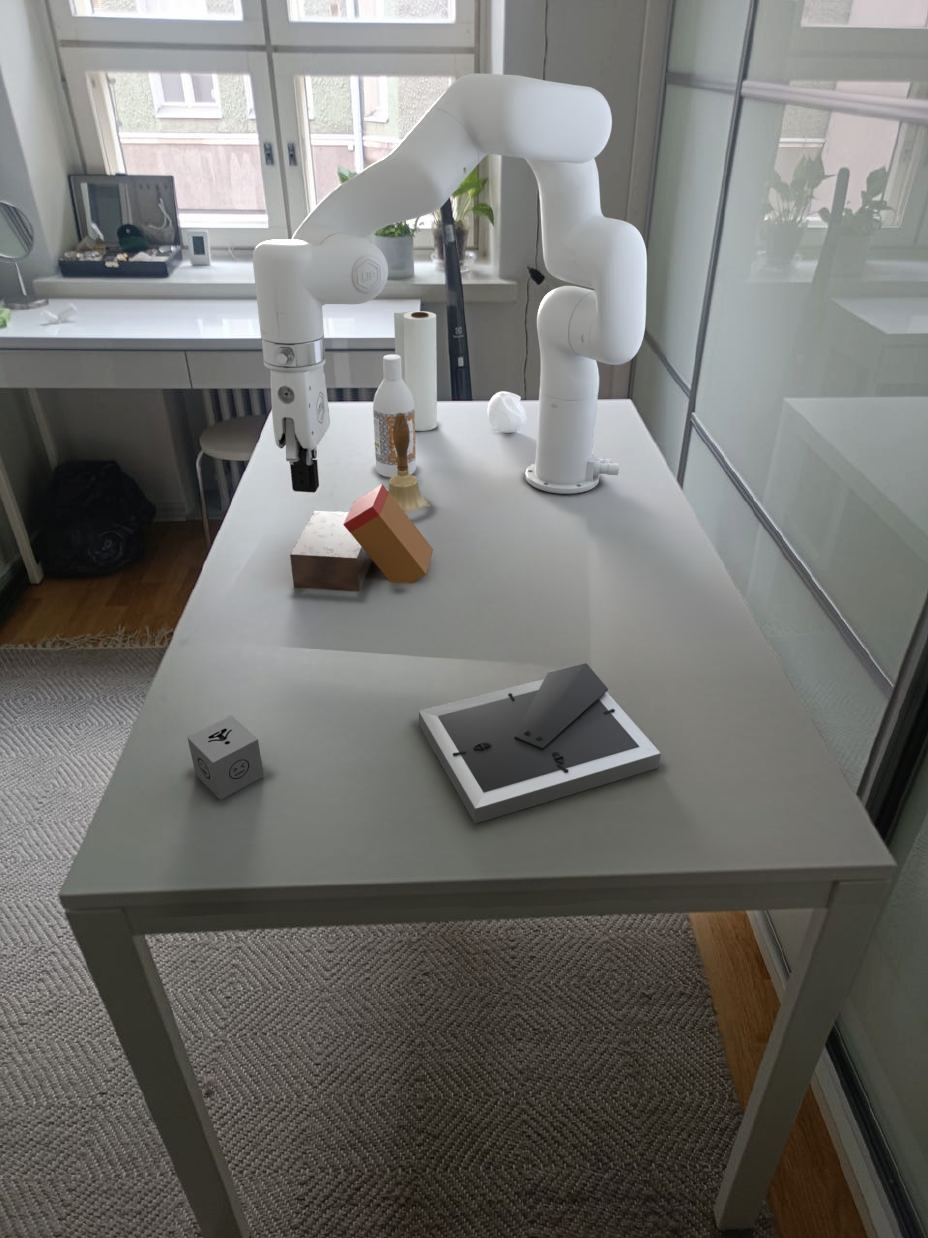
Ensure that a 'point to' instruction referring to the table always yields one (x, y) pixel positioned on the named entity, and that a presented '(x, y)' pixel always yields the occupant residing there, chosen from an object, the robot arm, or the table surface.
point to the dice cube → (226, 757)
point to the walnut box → (328, 555)
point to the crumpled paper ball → (506, 412)
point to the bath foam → (392, 418)
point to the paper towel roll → (418, 363)
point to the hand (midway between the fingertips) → (306, 489)
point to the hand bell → (404, 470)
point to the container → (389, 536)
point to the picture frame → (535, 742)
